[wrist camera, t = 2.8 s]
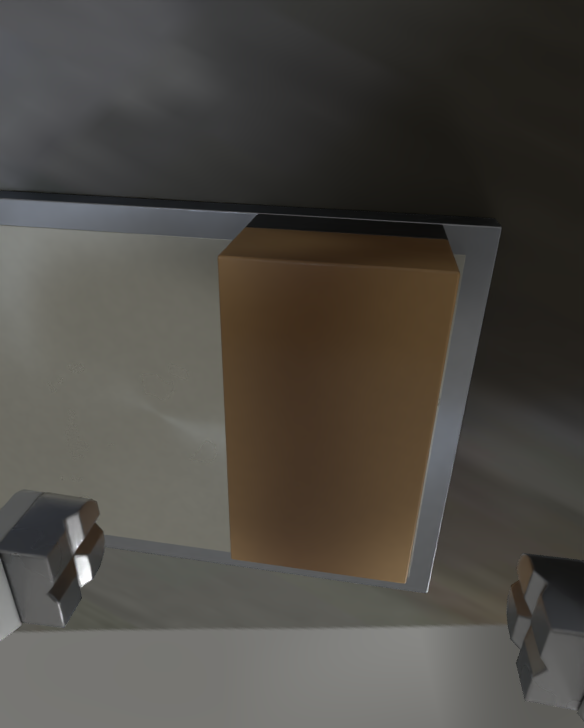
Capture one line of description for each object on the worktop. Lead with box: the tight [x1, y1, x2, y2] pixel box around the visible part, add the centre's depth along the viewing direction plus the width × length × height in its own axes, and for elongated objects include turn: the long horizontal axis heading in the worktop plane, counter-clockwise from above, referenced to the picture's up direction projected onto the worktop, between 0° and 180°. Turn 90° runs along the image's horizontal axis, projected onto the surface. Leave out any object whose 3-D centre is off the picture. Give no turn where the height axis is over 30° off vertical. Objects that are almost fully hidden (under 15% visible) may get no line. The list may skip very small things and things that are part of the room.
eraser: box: [217, 214, 460, 584], centre depth 15 cm, size 5×9×4 cm, turn 179°
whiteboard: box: [0, 191, 502, 593], centre depth 19 cm, size 20×14×1 cm
